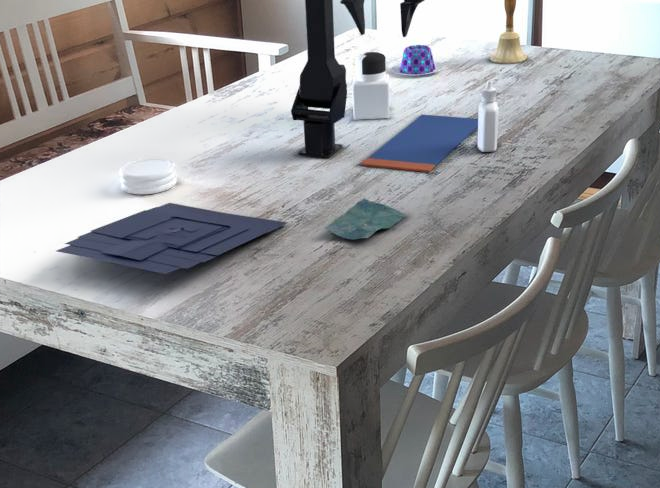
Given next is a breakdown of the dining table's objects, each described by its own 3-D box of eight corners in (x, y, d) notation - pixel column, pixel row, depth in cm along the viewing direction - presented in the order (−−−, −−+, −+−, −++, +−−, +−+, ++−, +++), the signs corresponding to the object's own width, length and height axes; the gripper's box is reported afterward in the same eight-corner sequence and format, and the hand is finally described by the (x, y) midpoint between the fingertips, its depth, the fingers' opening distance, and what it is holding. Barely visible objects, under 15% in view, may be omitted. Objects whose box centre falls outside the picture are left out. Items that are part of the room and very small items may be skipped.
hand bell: (512, 65, 236) (515, -9, 227) (482, 60, 241) (485, -12, 233) (534, 57, 240) (538, -16, 232) (504, 52, 246) (507, -19, 237)
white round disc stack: (126, 199, 181) (123, 179, 180) (117, 181, 190) (115, 162, 188) (182, 189, 183) (179, 170, 181) (171, 172, 192) (169, 153, 190)
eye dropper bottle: (469, 151, 189) (471, 84, 182) (481, 141, 193) (483, 76, 186) (492, 154, 187) (495, 86, 180) (504, 144, 191) (507, 78, 184)
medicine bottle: (389, 108, 215) (388, 48, 209) (389, 118, 209) (388, 57, 203) (354, 109, 216) (352, 50, 210) (353, 120, 210) (351, 59, 204)
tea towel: (429, 172, 181) (429, 170, 181) (360, 165, 187) (360, 163, 187) (484, 121, 203) (484, 119, 203) (421, 116, 209) (421, 114, 209)
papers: (47, 266, 156) (44, 243, 154) (169, 218, 178) (168, 197, 177) (177, 295, 144) (176, 270, 142) (290, 239, 167) (290, 217, 165)
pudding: (382, 69, 241) (382, 46, 239) (430, 61, 244) (430, 38, 241) (403, 81, 232) (403, 57, 229) (452, 72, 234) (453, 49, 231)
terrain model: (364, 208, 169) (364, 197, 168) (407, 217, 165) (407, 206, 164) (323, 237, 160) (323, 226, 159) (367, 247, 156) (367, 236, 155)
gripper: (443, -57, 200) (443, 27, 208) (356, -58, 209) (359, 23, 217) (419, -45, 192) (420, 42, 201) (330, -46, 201) (334, 37, 209)
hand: (383, 35), depth 207 cm, fingers open, 9 cm apart
